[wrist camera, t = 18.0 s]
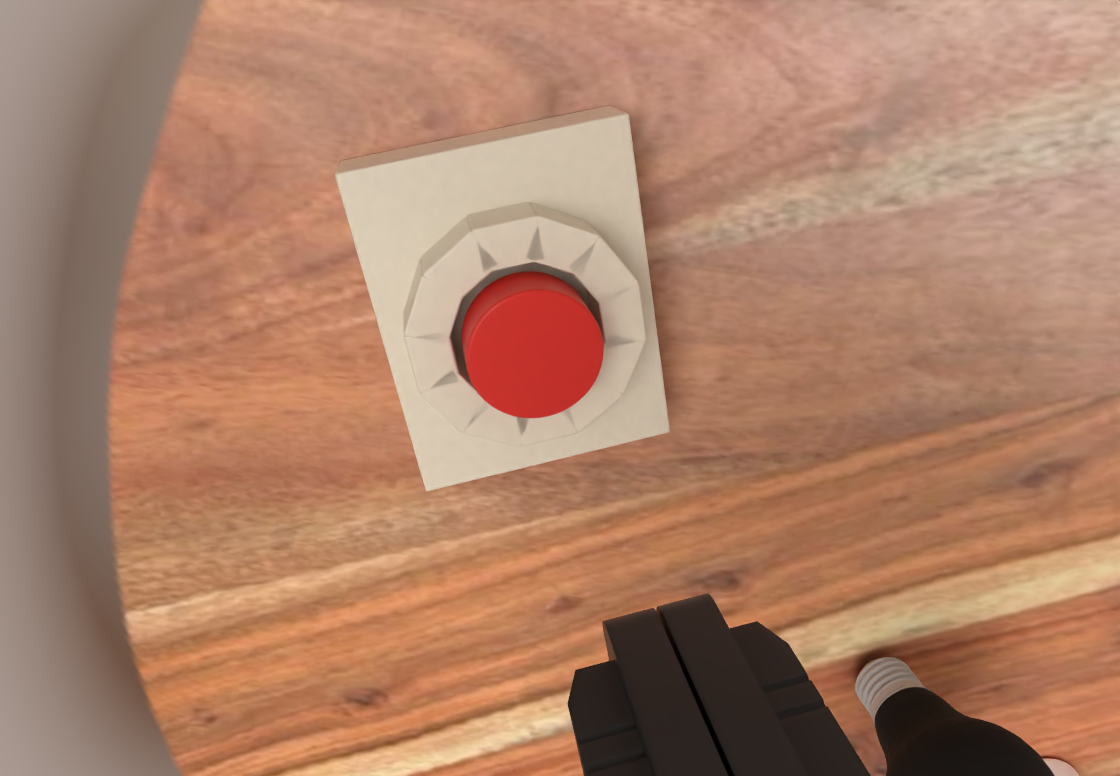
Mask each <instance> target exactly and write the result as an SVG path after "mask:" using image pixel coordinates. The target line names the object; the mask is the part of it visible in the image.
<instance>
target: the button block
mask: <svg viewBox="0 0 1120 776" xmlns="http://www.w3.org/2000/svg"><path fill="white" fill-rule="evenodd" d="M335 178H336V181H337V185H338V188H339V191H340V195H341V198H342V202H343V205H344V209H345V212H346V216H347V219H348V223H349V226H350V230H351V233H352V237H353V240H354V244H355V247H356V250H357V254H358V257H359V261H360V264H361V268H362V271H363V275H364V278H365V282H366V285H367V289H368V292H369V296H370V299H371V303H372V306H373V309H374V313H375V316H376V320H377V323H378V327H379V330H380V334H381V337H382V341H383V344H384V348H385V351H386V355H387V358H388V361H389V365H390V368H391V372H392V375H393V379H394V382H395V386H396V389H397V393H398V396H399V400H400V403H401V407H402V410H403V414H404V417H405V420H406V424H407V427H408V431H409V434H410V438H411V441H412V445H413V448H414V452H415V455H416V459H417V462H418V466H419V469H420V472H421V476H422V479H423V483H424V486H425V490H426V491H431V490H435V489H439V488H443V487H447V486H451V485H455V484H459V483H463V482H468V481H472V480H476V479H480V478H484V477H488V476H492V475H496V474H500V473H504V472H509V471H513V470H517V469H521V468H525V467H529V466H533V465H537V464H541V463H545V462H550V461H554V460H558V459H562V458H566V457H570V456H574V455H578V454H582V453H586V452H591V451H595V450H599V449H603V448H607V447H611V446H615V445H619V444H623V443H627V442H632V441H636V440H640V439H644V438H648V437H652V436H656V435H660V434H664V433H668V432H669V431H670V428H669V420H668V413H667V405H666V397H665V389H664V382H663V374H662V366H661V359H660V351H659V343H658V335H657V328H656V320H655V312H654V305H653V297H652V289H651V281H650V274H649V266H648V258H647V251H646V243H645V235H644V227H643V220H642V212H641V204H640V197H639V189H638V181H637V173H636V166H635V158H634V150H633V143H632V135H631V127H630V119H629V114H628V113H625V112H623V111H621V110H618V109H616V108H614V107H611V106H604V107H600V108H595V109H590V110H585V111H580V112H575V113H570V114H566V115H561V116H556V117H551V118H546V119H541V120H536V121H532V122H527V123H522V124H517V125H512V126H507V127H502V128H498V129H493V130H488V131H483V132H478V133H473V134H468V135H464V136H459V137H454V138H449V139H444V140H439V141H435V142H430V143H425V144H420V145H415V146H410V147H405V148H401V149H396V150H391V151H386V152H381V153H376V154H371V155H367V156H362V157H357V158H352V159H347V160H342V161H340V163H339V166H338V169H337V171H336V174H335ZM523 271H535V272H542V273H547V274H550V275H553V276H555V277H558V278H560V279H561V280H563V281H565V282H566V283H568V284H569V285H570V286H571V287H572V288H573V289H575V290H576V291H577V293H578V294H579V295H580V297H581V298H582V299H583V301H584V302H585V304H586V305H587V307H588V309H589V310H590V312H591V313H592V315H593V316H594V318H595V320H596V321H597V323H598V325H599V328H600V330H601V334H602V338H603V346H604V353H603V361H602V366H601V369H600V372H599V374H598V377H597V379H596V381H595V382H594V384H593V385H592V387H591V389H590V390H589V391H588V392H587V393H586V395H585V396H584V397H583V398H581V399H580V400H579V401H578V402H577V403H575V404H574V405H573V406H571V407H570V408H568V409H566V410H564V411H562V412H560V413H557V414H555V415H551V416H548V417H542V418H520V417H515V416H511V415H508V414H505V413H503V412H501V411H499V410H497V409H495V408H494V407H492V406H491V405H489V404H488V403H487V402H486V401H485V400H484V399H483V398H482V397H481V396H480V395H479V394H478V392H477V391H476V389H475V388H474V386H473V384H472V382H471V380H470V377H469V374H468V371H467V366H466V361H465V356H464V351H463V346H462V325H463V321H464V317H465V315H466V312H467V310H468V308H469V306H470V304H471V303H472V301H473V300H474V299H475V297H476V296H477V295H478V294H479V293H480V292H481V291H482V290H483V289H484V288H485V287H486V286H488V285H489V284H490V283H492V282H493V281H495V280H497V279H499V278H501V277H503V276H506V275H509V274H512V273H517V272H523Z"/></svg>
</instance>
